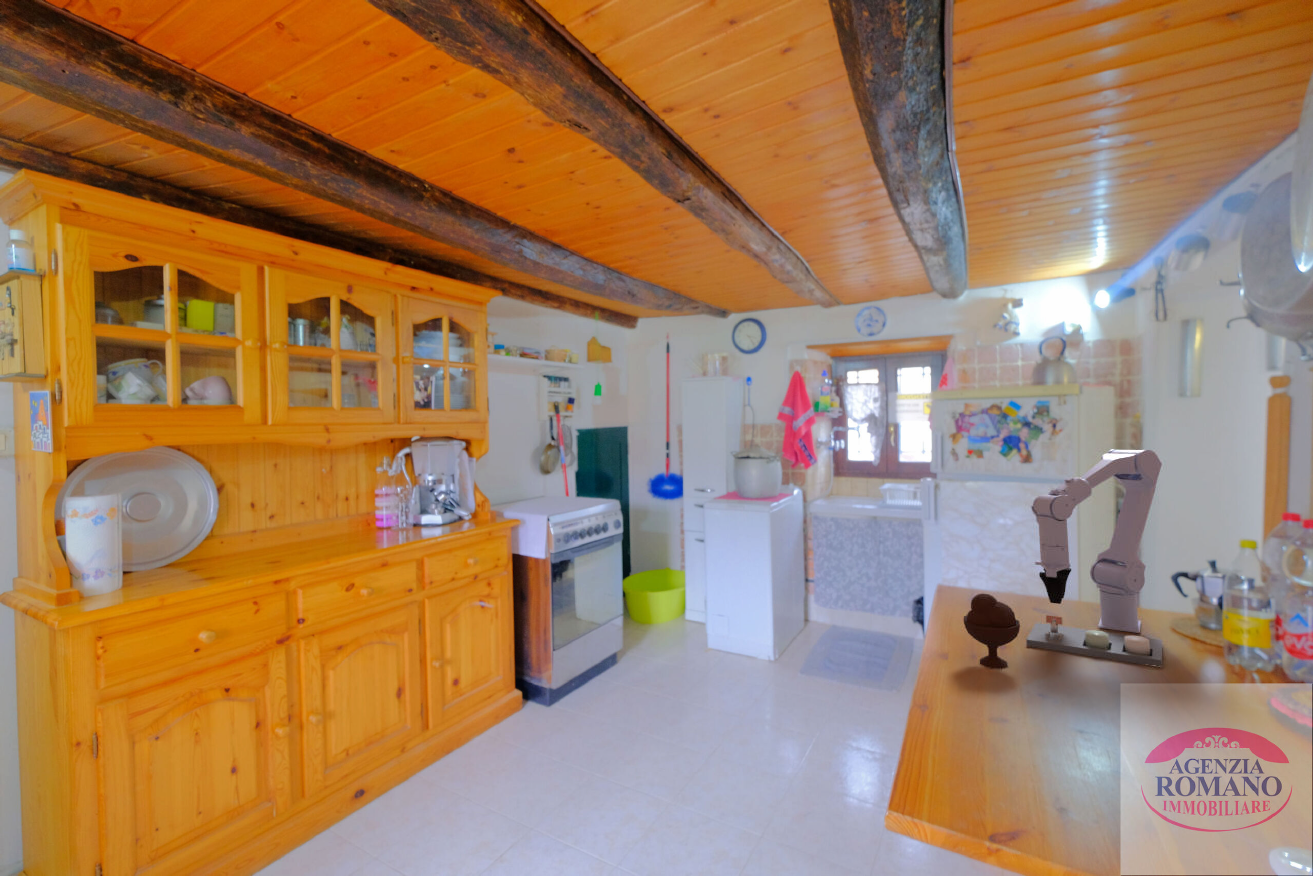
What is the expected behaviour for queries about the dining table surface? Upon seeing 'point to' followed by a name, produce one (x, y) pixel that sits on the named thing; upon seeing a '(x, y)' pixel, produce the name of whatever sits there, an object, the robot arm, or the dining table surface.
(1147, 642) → the pinkish beige button
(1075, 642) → the panel
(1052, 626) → the toggle lever
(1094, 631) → the sage button
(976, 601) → the ice cream bowl
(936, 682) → the dining table surface
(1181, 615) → the dining table surface
